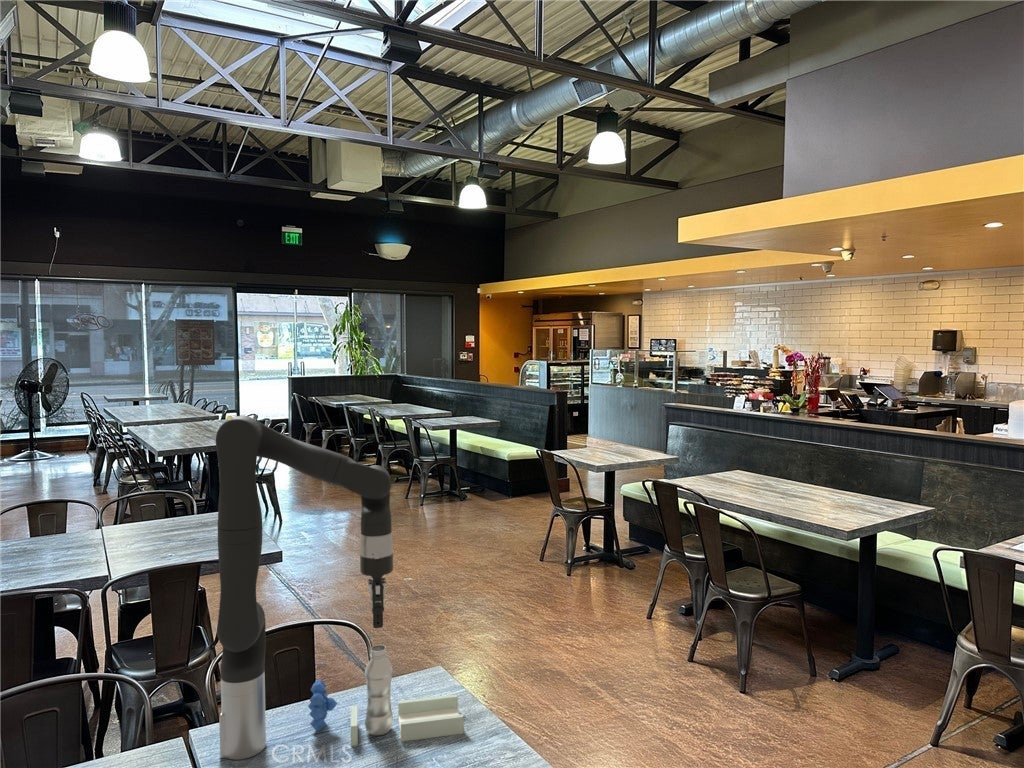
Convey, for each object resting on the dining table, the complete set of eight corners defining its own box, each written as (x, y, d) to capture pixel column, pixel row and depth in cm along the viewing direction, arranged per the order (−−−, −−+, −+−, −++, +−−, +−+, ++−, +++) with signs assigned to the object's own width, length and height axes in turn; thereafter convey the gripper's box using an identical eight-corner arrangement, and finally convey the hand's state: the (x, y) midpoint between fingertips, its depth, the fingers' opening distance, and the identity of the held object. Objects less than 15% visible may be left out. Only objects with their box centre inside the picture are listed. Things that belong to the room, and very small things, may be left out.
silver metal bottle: (359, 735, 159) (357, 651, 158) (377, 721, 165) (376, 640, 164) (381, 742, 156) (379, 656, 155) (399, 728, 162) (398, 645, 161)
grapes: (336, 741, 156) (335, 690, 156) (305, 744, 155) (304, 693, 155) (339, 715, 168) (338, 667, 167) (310, 718, 167) (309, 670, 166)
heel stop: (350, 745, 155) (350, 726, 155) (351, 724, 163) (350, 706, 163) (357, 744, 155) (357, 725, 155) (357, 724, 164) (357, 705, 164)
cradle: (401, 741, 156) (400, 724, 156) (398, 717, 167) (398, 701, 167) (463, 733, 159) (463, 716, 159) (457, 710, 170) (456, 694, 170)
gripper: (360, 544, 165) (361, 610, 166) (360, 562, 151) (361, 633, 152) (391, 542, 167) (392, 608, 167) (394, 559, 153) (395, 630, 153)
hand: (377, 620), depth 159 cm, fingers open, 8 cm apart
